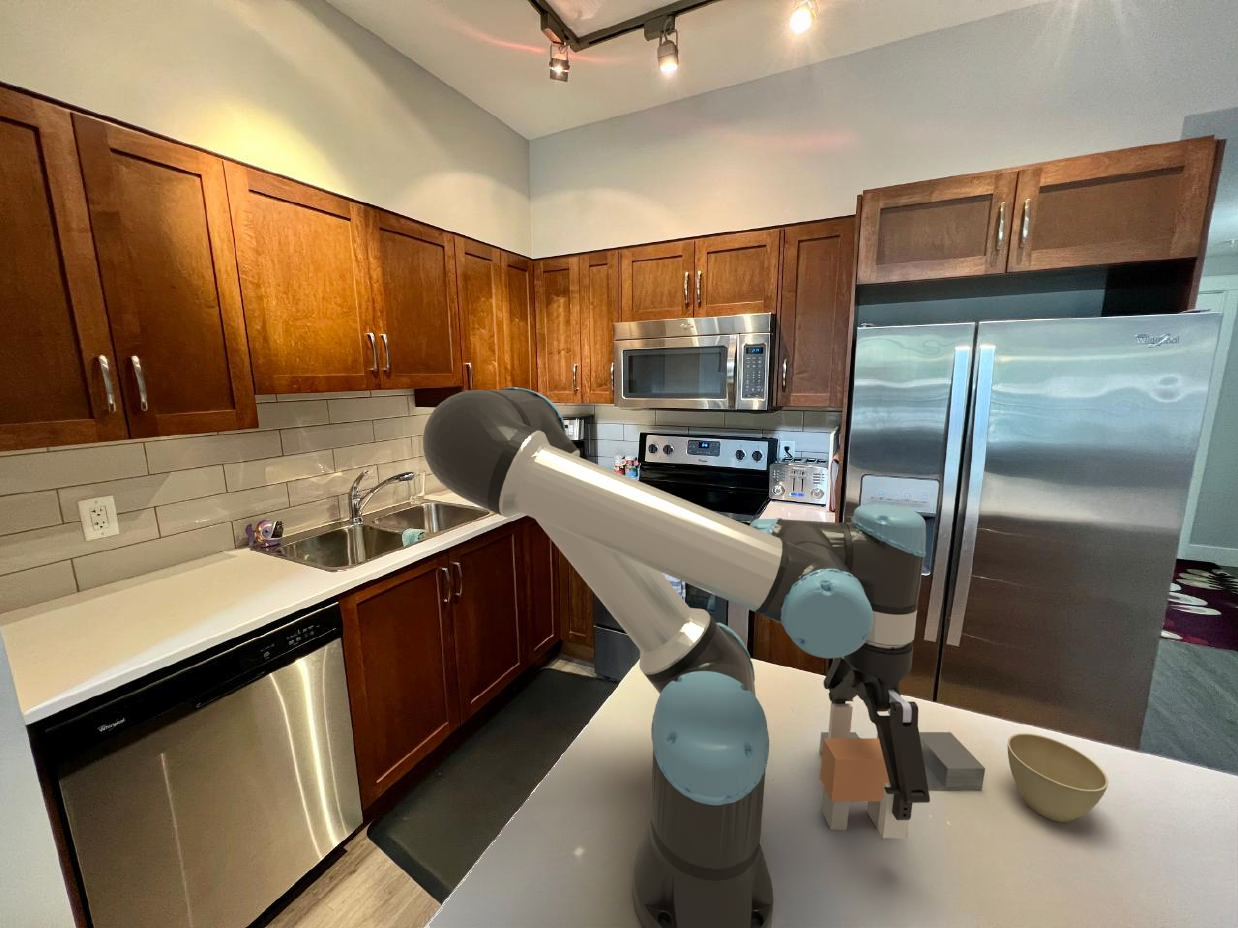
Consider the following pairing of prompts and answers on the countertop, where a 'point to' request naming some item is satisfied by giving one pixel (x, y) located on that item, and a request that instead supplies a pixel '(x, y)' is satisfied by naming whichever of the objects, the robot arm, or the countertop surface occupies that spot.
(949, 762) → the grey block fixture
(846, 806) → the orange block
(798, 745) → the countertop surface
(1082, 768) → the beige planter bowl
